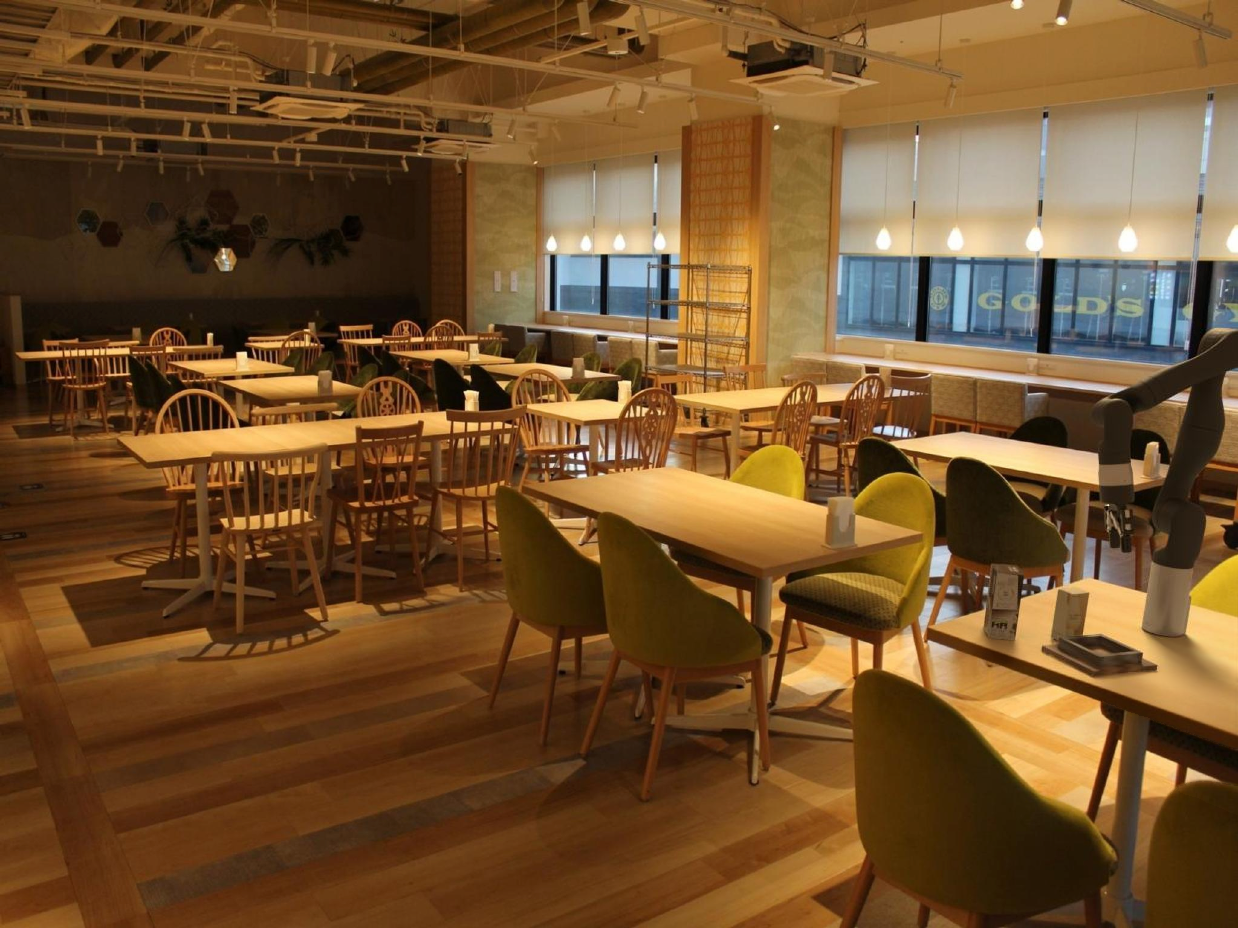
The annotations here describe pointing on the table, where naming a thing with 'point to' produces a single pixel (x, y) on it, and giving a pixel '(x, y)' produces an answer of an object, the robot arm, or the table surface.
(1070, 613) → the skincare box
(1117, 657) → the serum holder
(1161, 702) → the table surface
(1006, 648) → the table surface
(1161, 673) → the table surface
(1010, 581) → the coffee box
